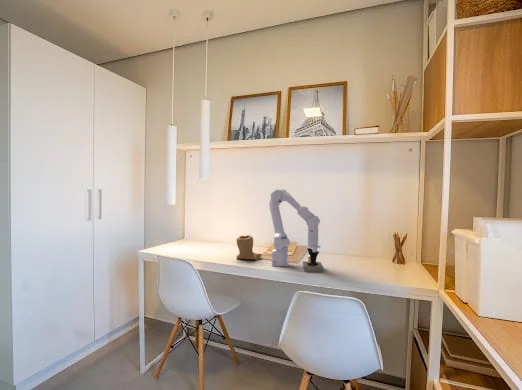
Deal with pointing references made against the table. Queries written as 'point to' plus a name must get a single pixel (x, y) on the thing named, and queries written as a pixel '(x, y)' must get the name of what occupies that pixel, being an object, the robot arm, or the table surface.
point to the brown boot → (246, 248)
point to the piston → (310, 261)
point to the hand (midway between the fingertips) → (312, 262)
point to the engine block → (312, 267)
